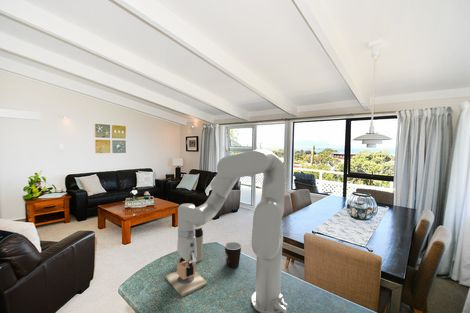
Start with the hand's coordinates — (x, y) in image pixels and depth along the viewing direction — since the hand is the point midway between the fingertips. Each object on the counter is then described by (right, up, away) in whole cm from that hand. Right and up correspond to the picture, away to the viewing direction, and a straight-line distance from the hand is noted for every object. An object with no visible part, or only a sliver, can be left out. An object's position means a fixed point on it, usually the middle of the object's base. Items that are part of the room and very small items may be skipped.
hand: (186, 271), depth 94 cm
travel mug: (0, -4, +19) cm, 20 cm away
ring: (0, -1, 0) cm, 1 cm away
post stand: (0, -4, 0) cm, 5 cm away
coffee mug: (+21, -5, +16) cm, 26 cm away
